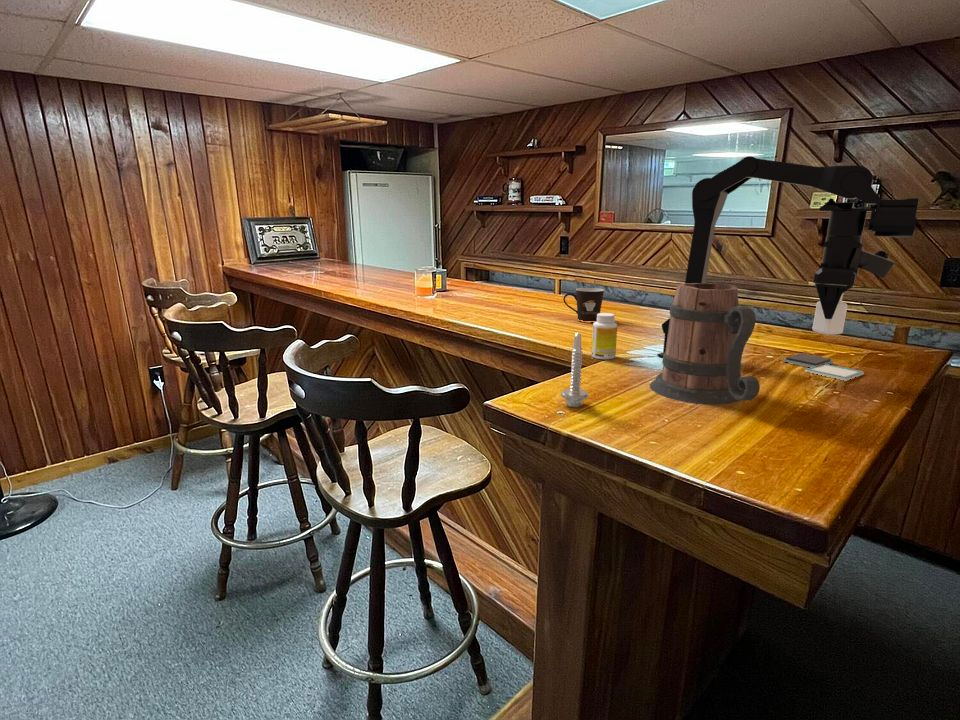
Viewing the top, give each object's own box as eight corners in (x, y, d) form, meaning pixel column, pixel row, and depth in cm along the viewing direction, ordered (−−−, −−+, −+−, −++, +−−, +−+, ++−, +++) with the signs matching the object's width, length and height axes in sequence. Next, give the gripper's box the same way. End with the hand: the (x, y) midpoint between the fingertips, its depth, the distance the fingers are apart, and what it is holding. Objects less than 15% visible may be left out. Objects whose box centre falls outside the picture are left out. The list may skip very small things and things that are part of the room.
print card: (846, 381, 107) (846, 377, 107) (804, 371, 113) (804, 368, 113) (863, 374, 111) (863, 371, 111) (821, 366, 118) (822, 363, 118)
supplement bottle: (620, 359, 124) (623, 315, 121) (599, 361, 122) (602, 317, 119) (606, 353, 129) (609, 311, 126) (586, 355, 127) (588, 313, 124)
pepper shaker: (843, 334, 105) (852, 286, 102) (825, 335, 104) (834, 286, 101) (827, 330, 108) (836, 283, 106) (810, 331, 108) (818, 284, 105)
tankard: (633, 379, 108) (641, 281, 103) (707, 374, 112) (718, 278, 106) (704, 421, 86) (718, 298, 81) (793, 413, 89) (813, 295, 84)
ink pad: (815, 369, 115) (816, 364, 115) (782, 362, 121) (783, 357, 120) (832, 363, 120) (833, 358, 119) (800, 357, 125) (800, 352, 125)
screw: (580, 399, 96) (593, 408, 92) (555, 401, 95) (567, 411, 91) (584, 329, 93) (597, 334, 88) (558, 330, 92) (571, 336, 87)
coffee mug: (606, 320, 169) (607, 289, 167) (596, 324, 162) (598, 292, 160) (571, 316, 175) (573, 286, 173) (561, 321, 168) (562, 289, 166)
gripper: (898, 239, 89) (879, 329, 94) (895, 236, 104) (879, 314, 108) (820, 237, 96) (806, 322, 100) (828, 234, 110) (815, 308, 114)
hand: (829, 316), depth 105 cm, fingers closed on pepper shaker, 5 cm apart
